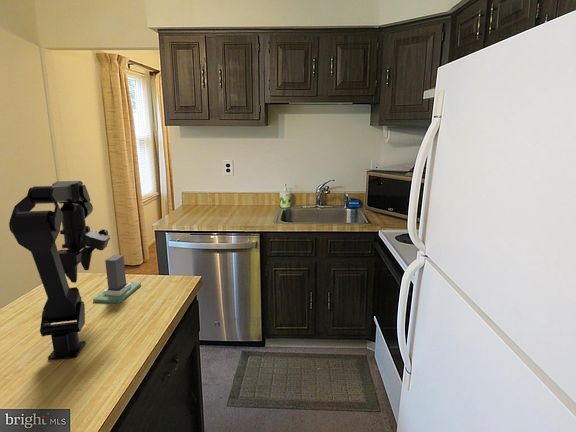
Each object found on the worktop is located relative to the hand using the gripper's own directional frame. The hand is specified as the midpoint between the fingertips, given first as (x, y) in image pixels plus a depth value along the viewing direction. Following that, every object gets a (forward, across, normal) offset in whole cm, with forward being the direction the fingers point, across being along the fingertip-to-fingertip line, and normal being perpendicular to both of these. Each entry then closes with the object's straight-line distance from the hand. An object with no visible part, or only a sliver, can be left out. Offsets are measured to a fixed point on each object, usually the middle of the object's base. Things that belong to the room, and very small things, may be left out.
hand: (80, 276), depth 105 cm
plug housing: (+12, +15, -5) cm, 20 cm away
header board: (+13, +15, -5) cm, 20 cm away
